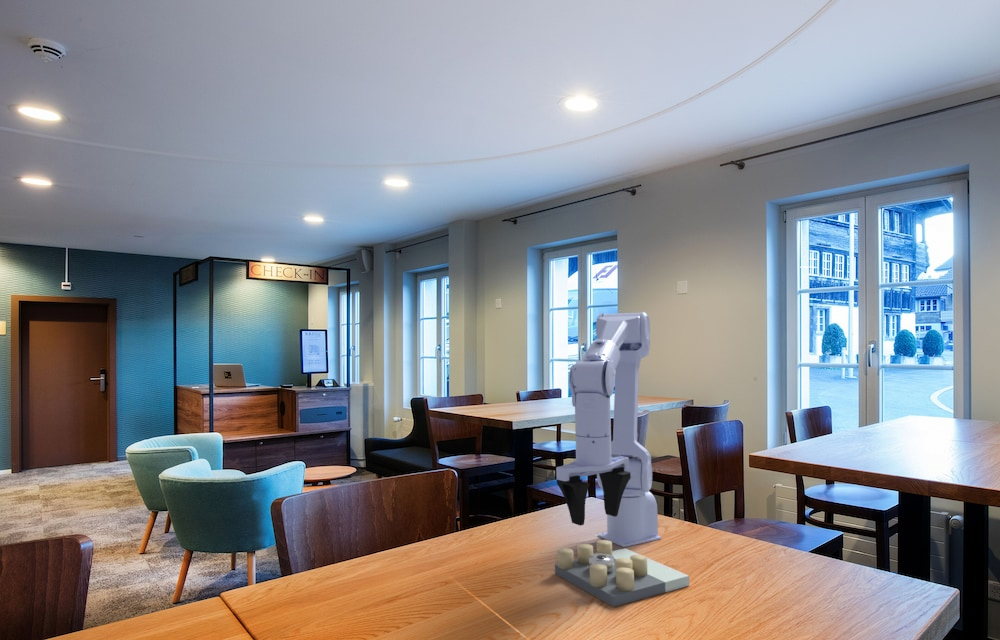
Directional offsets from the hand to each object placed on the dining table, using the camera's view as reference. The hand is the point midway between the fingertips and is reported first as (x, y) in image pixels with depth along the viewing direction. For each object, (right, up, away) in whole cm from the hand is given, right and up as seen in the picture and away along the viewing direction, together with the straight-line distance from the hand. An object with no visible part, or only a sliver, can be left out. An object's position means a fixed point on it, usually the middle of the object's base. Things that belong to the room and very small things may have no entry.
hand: (595, 519), depth 99 cm
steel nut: (+1, -8, -1) cm, 8 cm away
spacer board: (+4, -9, -1) cm, 10 cm away
